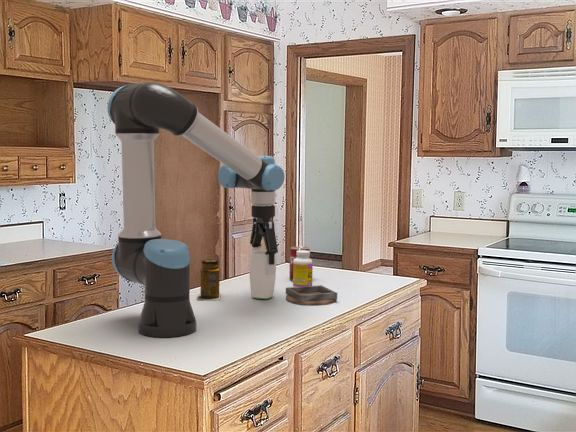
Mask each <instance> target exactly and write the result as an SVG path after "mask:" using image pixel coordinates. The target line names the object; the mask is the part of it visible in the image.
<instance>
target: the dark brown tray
mask: <svg viewBox="0 0 576 432" xmlns="http://www.w3.org/2000/svg"><path fill="white" fill-rule="evenodd" d="M285 294H286V295H285V300H286V301H287V302H288V303H290V304H294V305H301V306H325V305H326V306H327V305H331V304H333V303H335V302H336V301H337V300H338V292H336V291H334V290H332V289H330V288H328V287H326V286H323V285H321V284H320V285H312V286H303V287H293V286H291V287H285Z"/></svg>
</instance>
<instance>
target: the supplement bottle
mask: <svg viewBox="0 0 576 432" xmlns="http://www.w3.org/2000/svg"><path fill="white" fill-rule="evenodd" d="M296 255H297V258H295V259H294V261H293V281H292V287H303V286H313V269H314V268H313V265H314V264H313V262H314V261H313V260H312V258H309V256H310V257H311V250H310V251H306V250H299V251H296Z"/></svg>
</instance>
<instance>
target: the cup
mask: <svg viewBox="0 0 576 432" xmlns="http://www.w3.org/2000/svg"><path fill="white" fill-rule="evenodd" d="M266 252H267V250H266V249H261V250H257V251H253V252H252V251H250V252H249V253H248V261H249V262H248V263H249V264H248V268H249V270H248V271H249V285H250V286H249V287H250V293H251V294H250V295H251V298H252V299H256V300H268V299H270V298H272V297H273V296H274V294H275V285H276V275H277V274H276V273H277V253H276V254H275V275H266V255H265V253H266Z"/></svg>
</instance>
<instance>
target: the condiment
mask: <svg viewBox="0 0 576 432" xmlns="http://www.w3.org/2000/svg"><path fill="white" fill-rule="evenodd" d="M219 297H220V298H219ZM221 298H222V293H220V268H219V260H217V259H210V258H209V259H207V258H206V259H203V260H201V268H200V293H199V294H198V296H197V298H196V301H221Z"/></svg>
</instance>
